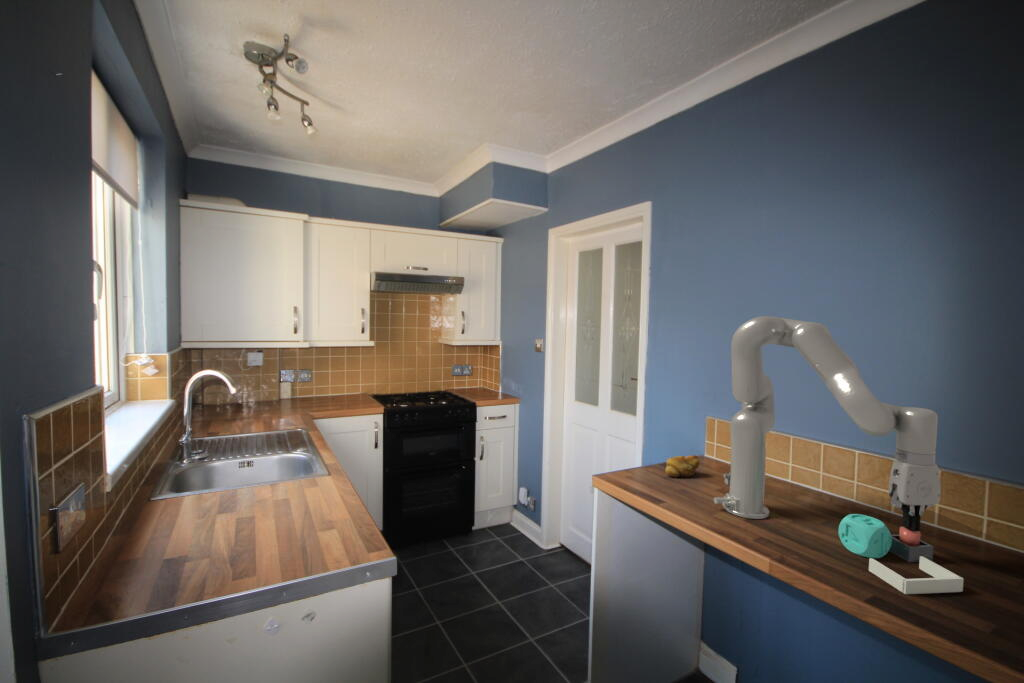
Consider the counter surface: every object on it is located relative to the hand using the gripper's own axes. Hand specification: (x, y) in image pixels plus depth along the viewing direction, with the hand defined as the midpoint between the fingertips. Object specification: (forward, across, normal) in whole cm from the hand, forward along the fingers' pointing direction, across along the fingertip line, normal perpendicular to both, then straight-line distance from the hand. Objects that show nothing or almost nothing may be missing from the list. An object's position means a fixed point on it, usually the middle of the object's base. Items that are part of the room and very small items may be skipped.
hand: (910, 528), depth 117 cm
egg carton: (+7, -15, +51) cm, 53 cm away
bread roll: (+7, -32, +61) cm, 69 cm away
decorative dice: (+7, -10, +3) cm, 12 cm away
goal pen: (+7, -10, -10) cm, 16 cm away
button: (+4, 0, 0) cm, 4 cm away
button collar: (+7, 0, 0) cm, 7 cm away
